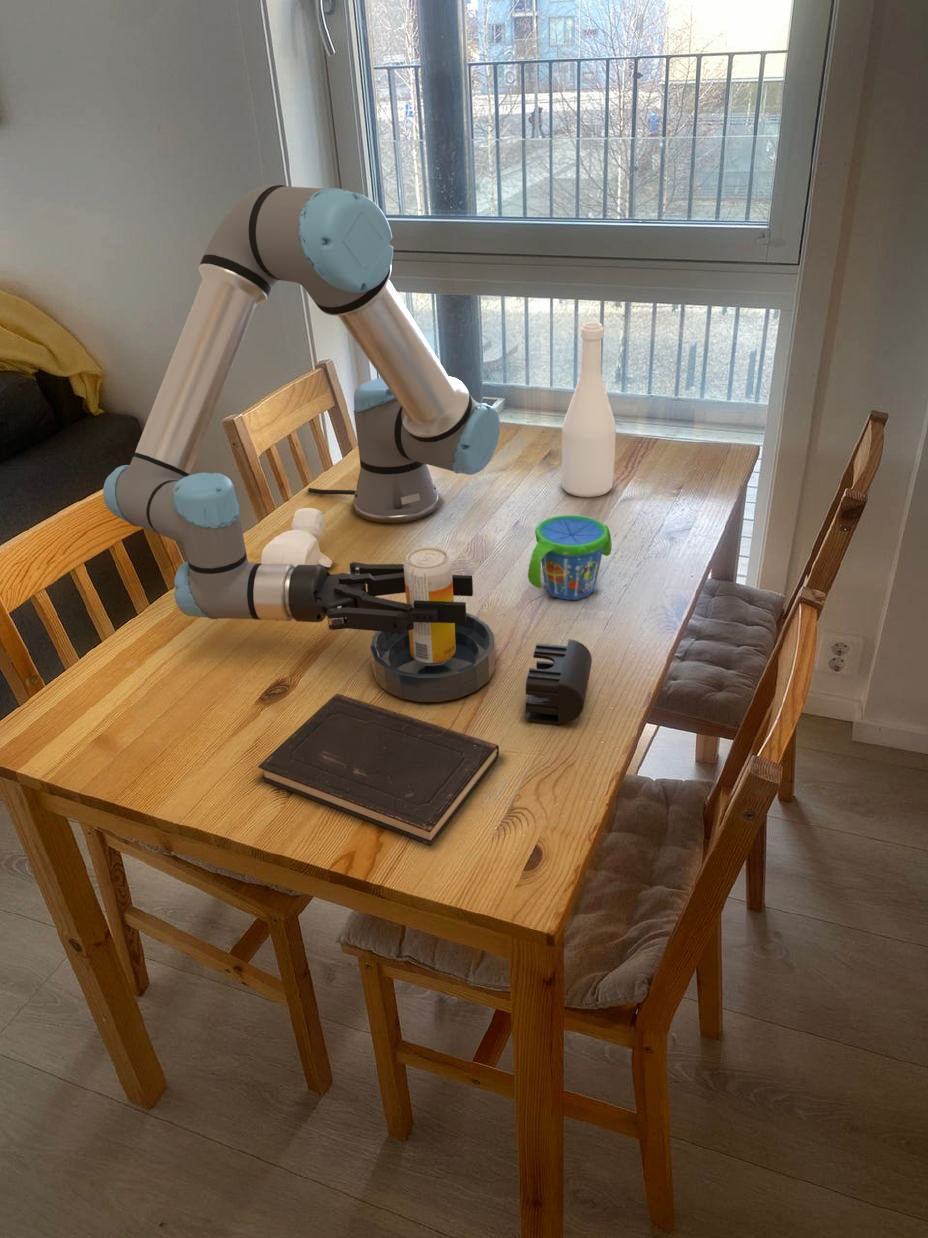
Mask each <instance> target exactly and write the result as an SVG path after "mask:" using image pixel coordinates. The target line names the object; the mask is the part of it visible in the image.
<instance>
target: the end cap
mask: <svg viewBox="0 0 928 1238" xmlns="http://www.w3.org/2000/svg"><path fill="white" fill-rule="evenodd" d="M532 657H533V659H543V660H549V661H539V660H537V661H536V665H535V666H536V668H535V667H534V668H533V667H530V668H528V672H527V677H526V681H525V695H529V698H528V700H526V701H525V713H526V721H527V722H528V723H531V724H539V725H550V726H564V725H565V724H569V723H572V722H573V721H575V720H577V719H579V717H580V716H581V715H582V713H583V711H584V707H585V703H586V697H587V692H588V686H589V681H590V680H589V679H590V674H591V669H592V663H593V659H592V654H591V652H590V650H589V648H588V647H587V646H586V645H584V644H583V643H582V642H580V641H578V640H575V639H570V638H568V640H567V645H559V644H549V643H548V644H547V643H535V648H534V651H533V655H532Z"/></svg>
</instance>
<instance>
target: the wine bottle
mask: <svg viewBox="0 0 928 1238" xmlns="http://www.w3.org/2000/svg"><path fill="white" fill-rule="evenodd" d="M580 332H581V333H580V337H581V339H582V341H581V342H582V345H581V359H580V360H581V363H580V372H579V377H578V379H577V383H576V386H575V390H574V392H573V394H572V398H571V400H570V402H569V405H568V408H567V411H566V413H565V416H564V420H563V422H562V427H561V477H560V478H561V481H560V483H561V486H562V488H563V490H564V491H565V492H566V493H568V494H569V495H572V496H575V497H578V498H579V497H580V498H595V497H600V496H603V495H605V494H608V493H609V492H610V491H611V490H612V488H613V485H614V480H615V479H614V478H615V477H614V476H615V461H616V460H615V459H616V457H615V455H616V436H617V425H616V423H615V417H614V413H613V410H612V407H611V404H610V400H609V397H608V394H607V390H606V387H605V383H604V380H603V376H602V339H603V338H604V327H603V324H602V323H601V322H598V321H587V322H584V323H583V324H582V327H581V331H580Z"/></svg>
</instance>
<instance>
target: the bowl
mask: <svg viewBox="0 0 928 1238" xmlns="http://www.w3.org/2000/svg"><path fill="white" fill-rule="evenodd" d="M466 620H467V621H466V624H460V623H455V642H456V652H455V654H454V655H453V656H452V657H451V659H450V660H449V661H448V662H446V663H444V664H441V665H437V666H427V665H423V664H421V663H419V662H417V661H416V659H415V658H413V657H412V655H411V652H410V641H409V630H407V626H406V631H405V632H403V633H396V632H383V631H375V633H374V634H373V636H371V641H370V657H371V666H372V673H373V675H374V678H375V681H376V683H377V684H378V685H379V686H380V687H381V688H382V689H383V690H385V691H386V692H387V693H389V694H391V695H393V696H396V697H398V698H400V699H403V700H408V701H414V702H418V703H419V702H420V703H438V702H439V703H440V702H446V701H451V700H455V699H460V698H462V697H465V696H468V695H469V694H472V693H475V692H476V691H478V690H479V689H481V688H482V687H483V686H485V684H487V683H488V682H489V681H490V679H491V677H492V676H493V673H494V672H495V670H496V642H495V640H496V639H495V633H494V632H493V630H492V628H491V627H490V625H489V624H488V623H486V622H485V621H484V620H483V619H481V618H480V617H478V616H476V615H474V614H471V613H468V612H466ZM394 624H396V623H395V622H394Z"/></svg>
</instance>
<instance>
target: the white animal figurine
mask: <svg viewBox="0 0 928 1238" xmlns="http://www.w3.org/2000/svg"><path fill="white" fill-rule="evenodd" d="M290 528H291V529H290V530H286V531H283V532H281V533H280V534H279V535H276V536H275V537H273V538H272V540H271V541H268V543H267V544H266V545H265V546H264V548H263V549H262V552H261V558H260V559H261V560H260V563H263V564H292V565H293V566H294V567H296V566H297V565H321V566H323V567H325V568H331V567H332V565H333V561H332V559H330V557H329V556H328V555H325V554H324V553H323V552H321V548H320V545H319V541H320V539H321V538H322V534H323V533H324V531H325V529H326V522H325V517H324V515H323V512H322V511H321V510H320V509H317V508H314V507H303V508H299V509H297V510H295V512H294V515H293V518H292V522H291V524H290Z"/></svg>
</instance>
